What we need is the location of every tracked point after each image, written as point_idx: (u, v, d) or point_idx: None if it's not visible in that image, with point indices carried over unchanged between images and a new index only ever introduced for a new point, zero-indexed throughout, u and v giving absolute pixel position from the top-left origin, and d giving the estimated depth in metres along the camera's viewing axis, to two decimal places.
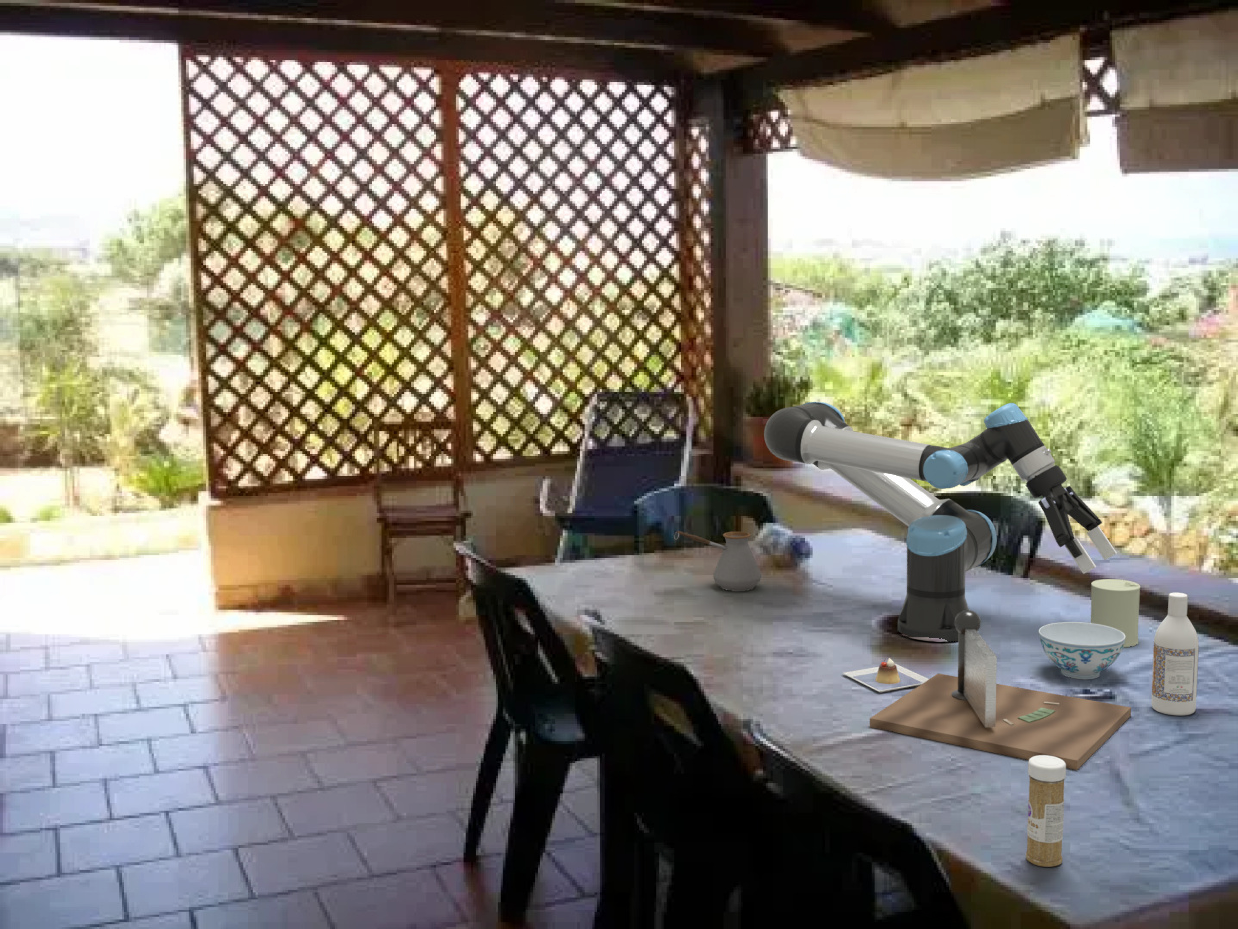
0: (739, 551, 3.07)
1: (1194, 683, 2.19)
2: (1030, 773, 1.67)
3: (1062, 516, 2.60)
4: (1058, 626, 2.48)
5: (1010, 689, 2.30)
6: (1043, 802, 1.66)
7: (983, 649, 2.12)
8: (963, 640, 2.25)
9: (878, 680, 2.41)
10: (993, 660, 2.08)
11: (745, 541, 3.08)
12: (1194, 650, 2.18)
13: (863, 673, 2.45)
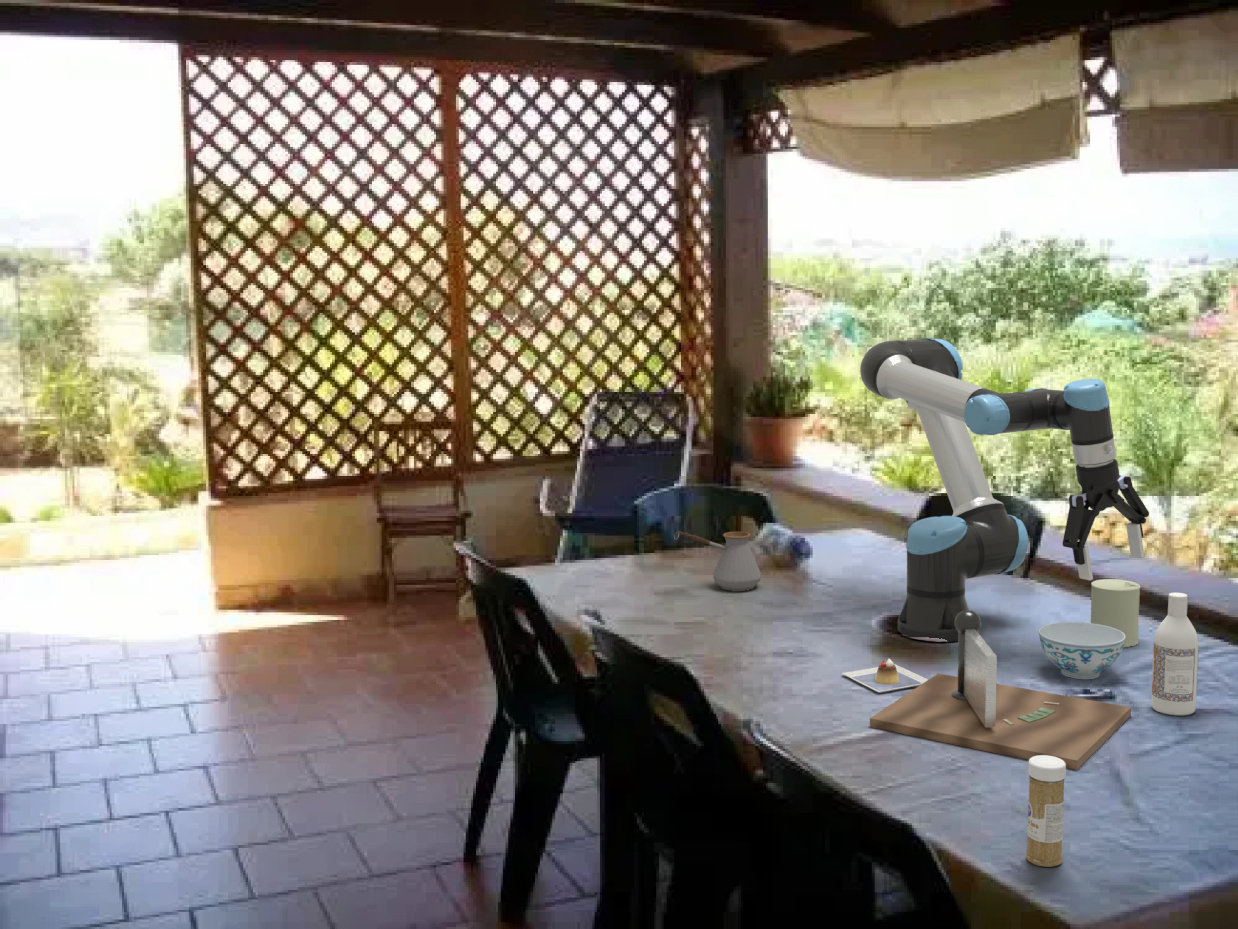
0: (739, 551, 3.07)
1: (1194, 683, 2.19)
2: (1030, 773, 1.67)
3: (1087, 518, 2.47)
4: (1058, 626, 2.48)
5: (1010, 689, 2.30)
6: (1043, 802, 1.66)
7: (983, 649, 2.12)
8: (963, 640, 2.25)
9: (877, 680, 2.40)
10: (993, 660, 2.08)
11: (745, 541, 3.08)
12: (1194, 650, 2.18)
13: (862, 673, 2.45)
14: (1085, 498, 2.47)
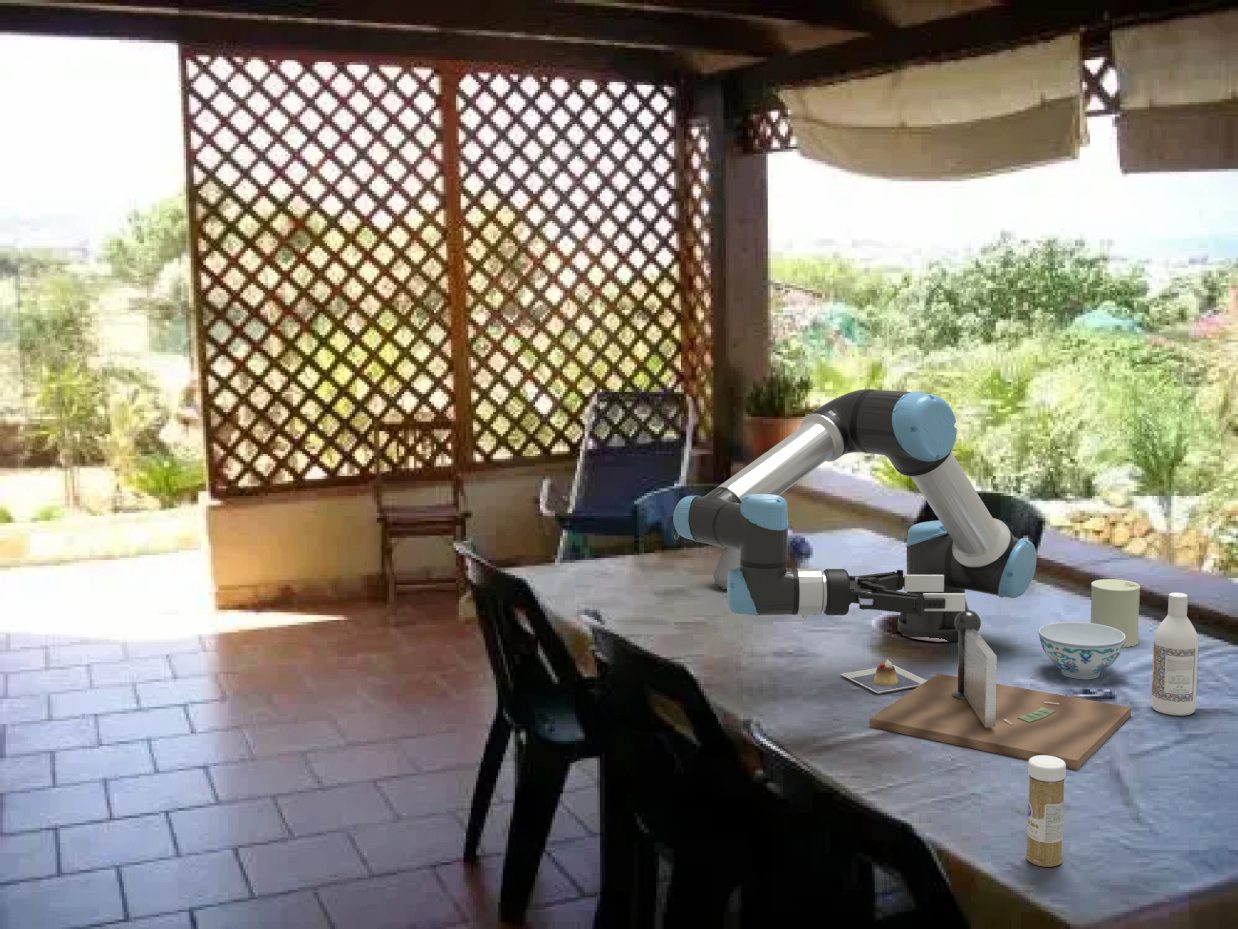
0: (739, 551, 3.07)
1: (1194, 683, 2.19)
2: (1030, 773, 1.67)
3: None
4: (1058, 626, 2.48)
5: (1010, 689, 2.30)
6: (1043, 802, 1.66)
7: (983, 649, 2.12)
8: (963, 640, 2.25)
9: (876, 681, 2.40)
10: (993, 660, 2.08)
11: None
12: (1194, 650, 2.18)
13: (861, 674, 2.45)
14: None
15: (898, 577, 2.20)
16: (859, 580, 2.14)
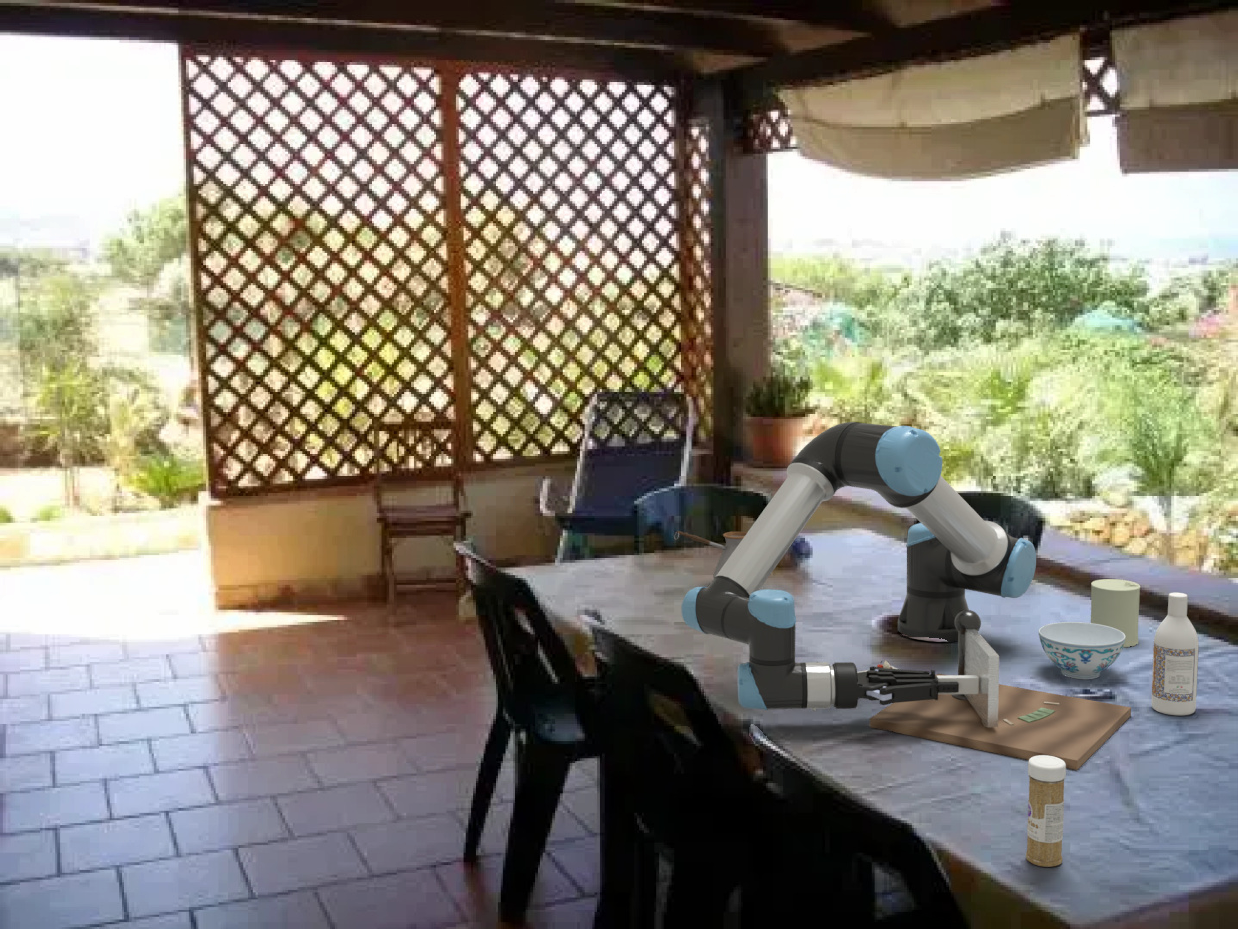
0: None
1: (1194, 683, 2.19)
2: (1030, 773, 1.67)
3: None
4: (1058, 626, 2.48)
5: (1010, 689, 2.30)
6: (1043, 802, 1.66)
7: (985, 649, 2.12)
8: (963, 640, 2.25)
9: None
10: (995, 660, 2.08)
11: None
12: (1194, 650, 2.18)
13: None
14: None
15: (925, 677, 2.16)
16: (866, 672, 2.17)
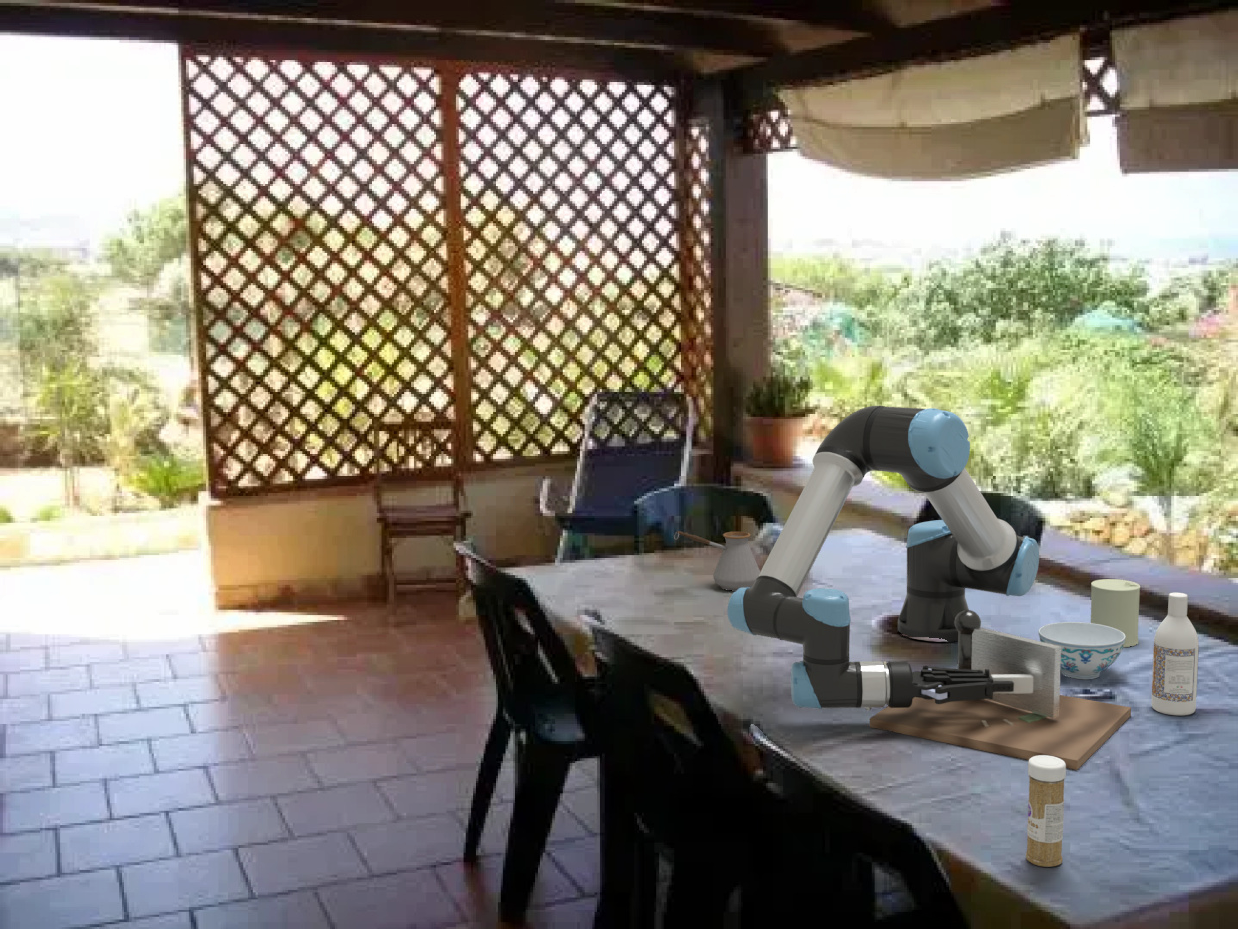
0: (739, 551, 3.07)
1: (1194, 683, 2.19)
2: (1030, 773, 1.67)
3: None
4: (1058, 626, 2.48)
5: None
6: (1043, 802, 1.66)
7: (1035, 642, 2.15)
8: (969, 640, 2.24)
9: None
10: (1058, 651, 2.12)
11: (745, 541, 3.08)
12: (1194, 650, 2.18)
13: None
14: None
15: (980, 676, 2.16)
16: (921, 671, 2.17)
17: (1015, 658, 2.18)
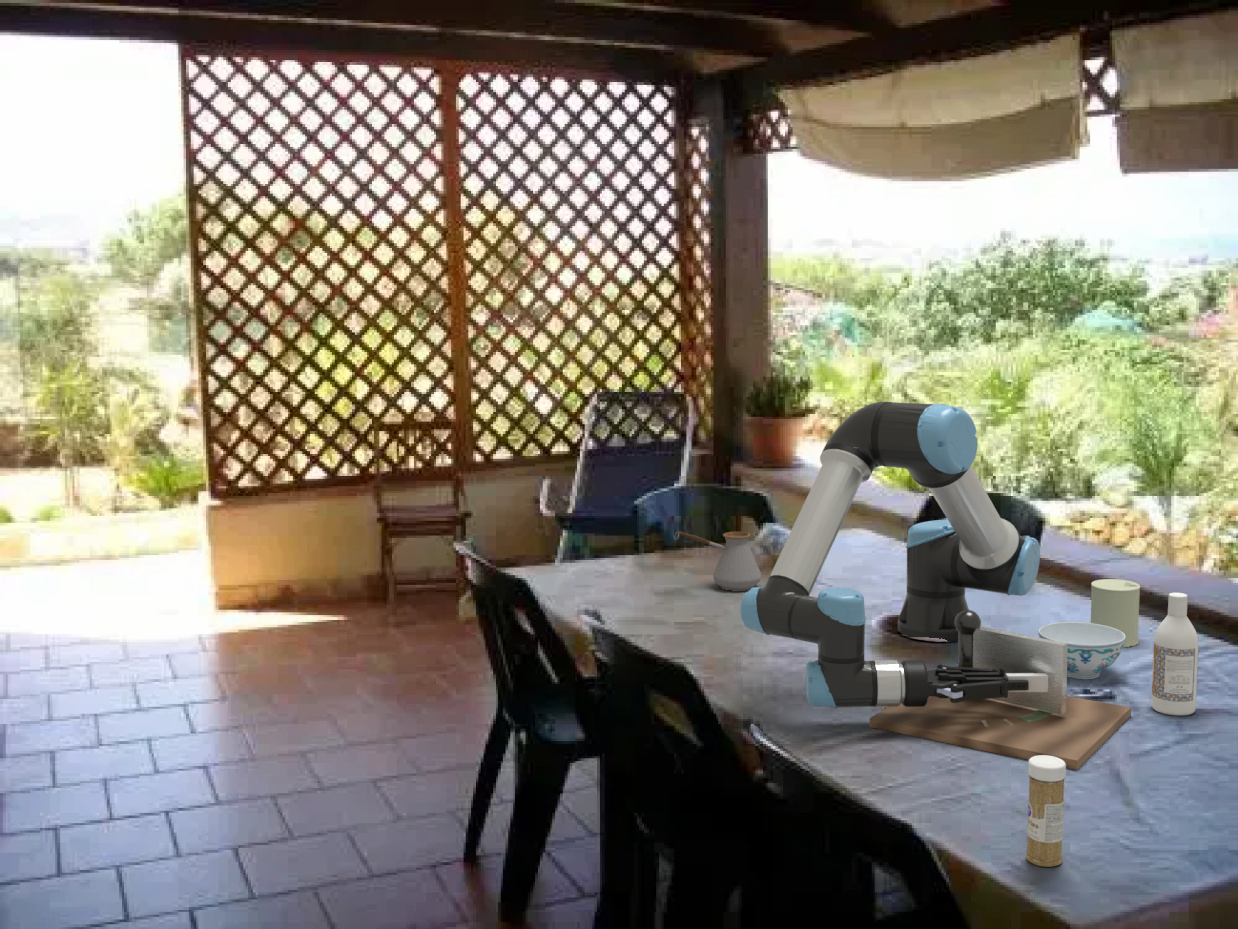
0: (739, 551, 3.07)
1: (1194, 683, 2.19)
2: (1030, 773, 1.67)
3: None
4: (1058, 626, 2.48)
5: None
6: (1043, 802, 1.66)
7: (1041, 640, 2.16)
8: (971, 640, 2.24)
9: None
10: (1066, 648, 2.14)
11: (745, 541, 3.08)
12: (1194, 650, 2.18)
13: None
14: None
15: (994, 675, 2.16)
16: (935, 670, 2.17)
17: (1020, 656, 2.19)
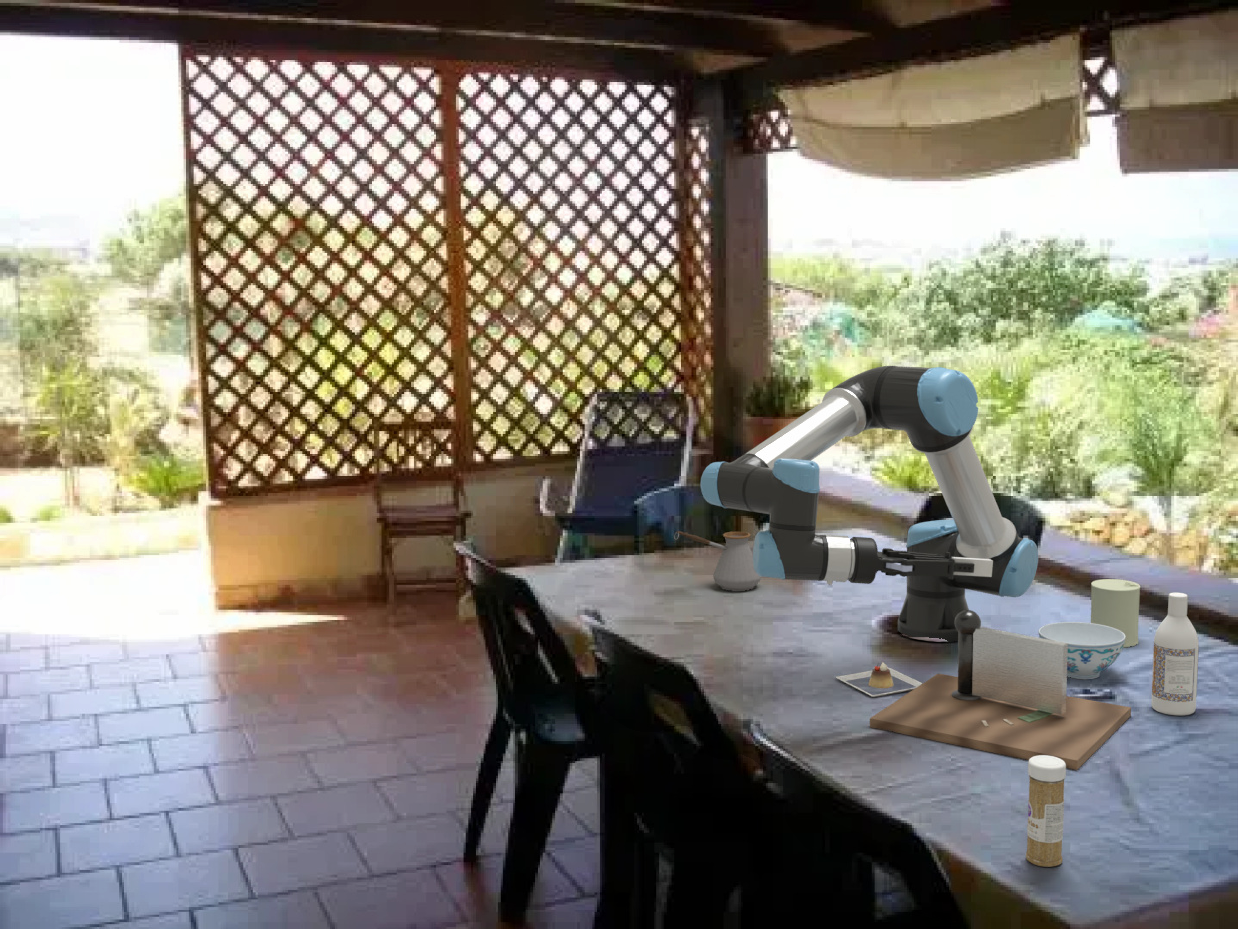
0: (739, 551, 3.07)
1: (1194, 683, 2.19)
2: (1030, 773, 1.67)
3: None
4: (1058, 626, 2.48)
5: None
6: (1043, 802, 1.66)
7: (1041, 640, 2.16)
8: (971, 640, 2.24)
9: (871, 684, 2.38)
10: (1066, 648, 2.14)
11: (745, 541, 3.08)
12: (1194, 650, 2.18)
13: (856, 677, 2.43)
14: None
15: (940, 558, 2.16)
16: (883, 549, 2.16)
17: (1020, 656, 2.19)
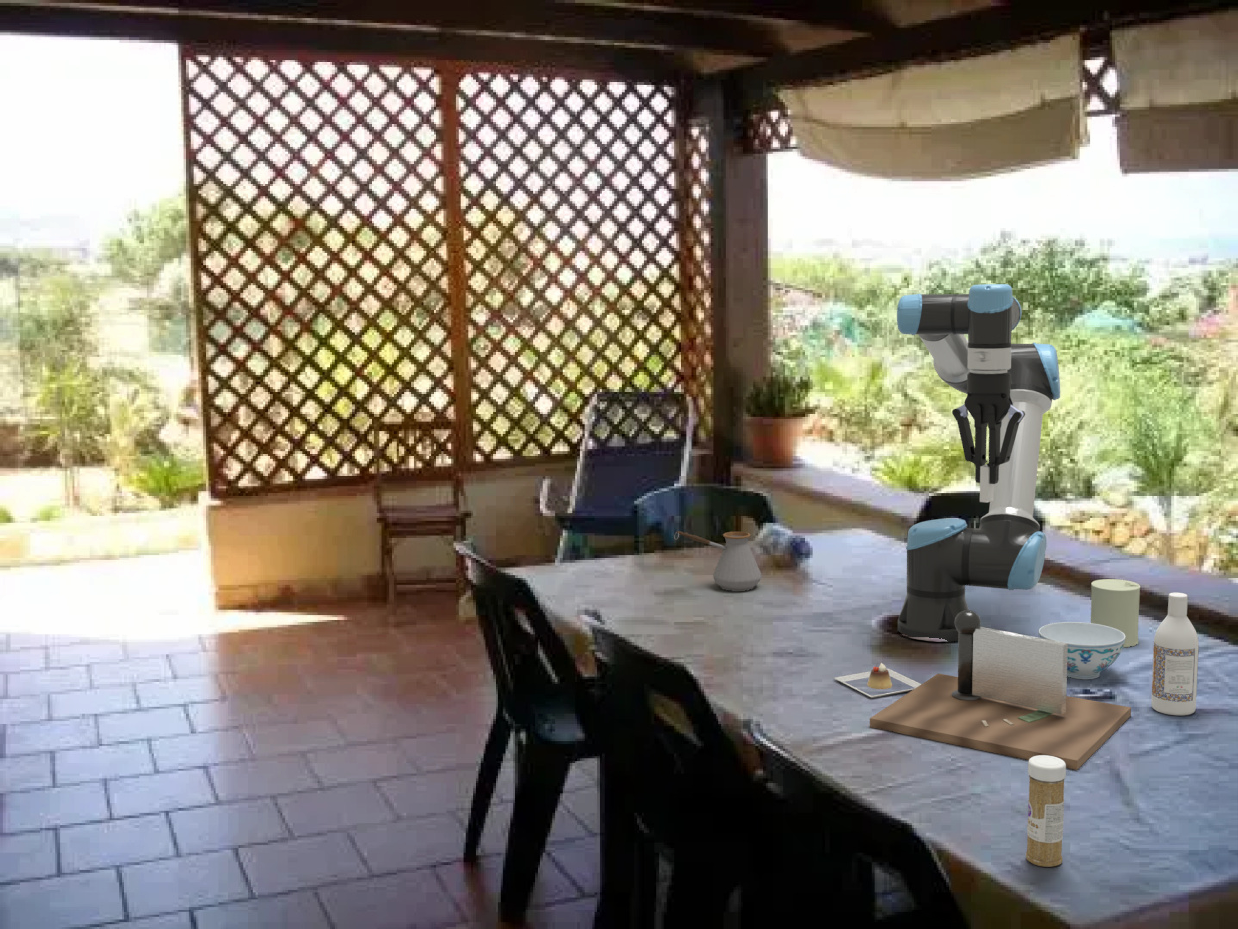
0: (739, 551, 3.07)
1: (1194, 683, 2.19)
2: (1030, 773, 1.67)
3: None
4: (1058, 626, 2.48)
5: None
6: (1043, 802, 1.66)
7: (1041, 640, 2.16)
8: (971, 640, 2.24)
9: (870, 685, 2.38)
10: (1066, 648, 2.14)
11: (745, 541, 3.08)
12: (1194, 650, 2.18)
13: (855, 678, 2.43)
14: (965, 407, 2.39)
15: (985, 455, 2.39)
16: None
17: (1020, 656, 2.19)
